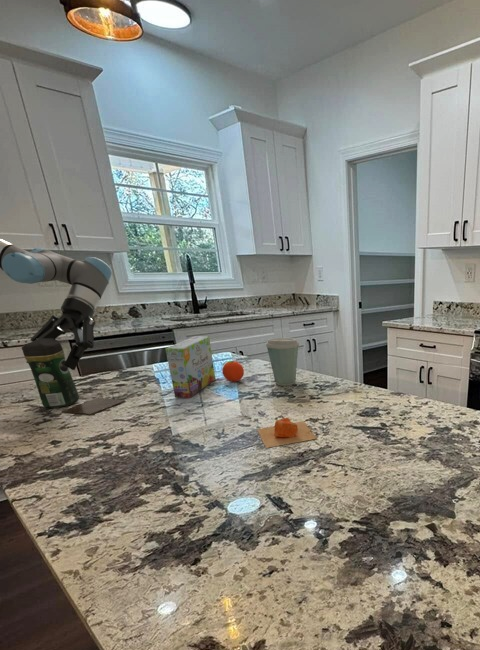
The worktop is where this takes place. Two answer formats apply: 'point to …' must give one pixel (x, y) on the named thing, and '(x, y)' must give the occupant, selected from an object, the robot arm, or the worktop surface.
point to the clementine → (233, 371)
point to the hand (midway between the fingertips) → (50, 366)
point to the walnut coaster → (93, 406)
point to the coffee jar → (50, 372)
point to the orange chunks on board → (285, 433)
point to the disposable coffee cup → (283, 359)
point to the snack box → (190, 365)
